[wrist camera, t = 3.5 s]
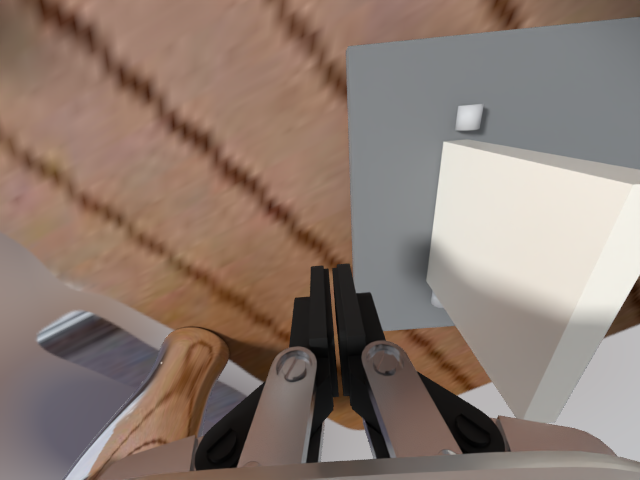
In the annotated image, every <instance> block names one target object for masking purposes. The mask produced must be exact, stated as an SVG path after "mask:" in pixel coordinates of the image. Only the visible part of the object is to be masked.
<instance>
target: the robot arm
mask: <svg viewBox="0 0 640 480" xmlns="http://www.w3.org/2000/svg"><path fill="white" fill-rule="evenodd" d="M332 271H333V285H334V298H335V312H336V324H337V334H338V344H339V355H340V365H341V375H342V385H343V395H344V396H349V397H350V405H351V406H352V409H353V410H354V411H355V412H356V413H358V414H359V415H360V416H361V417H362V419H363V425H364V428H365V431H366V435H367V438H368V442H369V445H370V448H371V452H372V455H373V459H368V460H352V461H334V462H321V454H322V445H323V435H324V420H325V419H326V418H327V417H328V416H329V414H330V413H331V412H332V411H333V407H334V405H333V397H339V393H338V380H337V368H336V355H335V343H334V331H333V318H332V306H331V294H330V282H329V270H328V269H324V267H323V266H312V267H311V283H310V297H299V298H295V301H294V309H293V318H292V327H291V336H290V344H289V348H287V349H285V350H283V351H282V352H280V353H279V354H278V355H277V356H276V357H275V359H274V361H273V363H272V365H271V368H270V371H269V374H268V377H267V380H266V381H265V382H264V383H263V384H262V385H260V386H259V387H258V388H257V389H256V390H255V391H254V392H252V393H251V394H250V395H249V396H248V397H246V398H245V399H244V400H243V401H242V402H241V403H240V404H238V405H237V406H236V407H235V408H234V409H233V410H231V411H230V412H229V413H228V414H227V415H226V416H224V417H223V418H222V419H221V420H220V421H219V422H218V423H216V424H215V425H214V426H213V427H212V428H211V429H210V430H209V431H208V432H207V433H206V434H205V435H204V436H202V437H198V438H197V437H196V435H193V436H190V437H186V438H183V439H180V440H177V441H174V442H171V443H167V444H164V445H161V446H158V447H155V448H152V449H148V450H145V451H142V452H139V453H136V454H132V455H129V456H127V457H124V458H122V459H120V460H118V461H117V462H115V463H114V464H113V465H112V466H110V467H109V468H108V469H107V470H106V471H105V472H104V473H103V474H102V475H101V477H100V478H99V479H98V480H640V462H637V461H634V460H630V459H626V458H622V457H618V456H617V455H616V454H615V453H614V452H613V451H612V450H611V449H610V448H609V447H608V446H607V445H606V444H604V443H603V442H602V441H601V440H600V439H598V438H596V437H594V436H593V435H591V434H589V433H587V432H585V431H582V430H578V429H575V428H570V427H564V426H558V425H552V424H546V423H540V422H535V421H529V420H523V419H517V418H511V417H505V416H498V418H497V419H495V418H489V417H488V416H487V415H486V414H484V413H483V412H482V411H480V410H479V409H477V408H476V407H474V406H472V405H471V404H469V403H468V402H466V401H464V400H463V399H461V398H459V397H458V396H456V395H455V394H453V393H451V392H450V391H448V390H446V389H445V388H443V387H442V386H440V385H438V384H437V383H435V382H433V381H432V380H430V379H429V378H427V377H425V376H424V375H422V374H420V373H419V372H417V371H416V370H415V368H414V366H413V364H412V363H411V361H410V359H409V357H408V356H407V354H406V353H405V351H404V350H403V349H402V348H401V347H399V346H398V345H397V344H394V343H392V342H389V341H386V340H385V336H384V333H383V330H382V327H381V323H380V320H379V317H378V314H377V310H376V307H375V304H374V301H373V297H372V294H371V293H370V292H365V293H356V291H355V286H354V282H353V278H352V273H351V269H350V264H338V265H337V268H332Z"/></svg>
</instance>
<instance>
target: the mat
mask: <svg viewBox="0 0 640 480" xmlns="http://www.w3.org/2000/svg"><path fill="white" fill-rule="evenodd" d="M346 72H347V103H348V133H349V164H350V195H351V225H352V256H353V282H354V286H355V291H356V293H365V292H370V293H371V294H372V297H373V301H374V304H375V307H376V310H377V314H378V317H379V320H380V323H381V327H382V330H383V331H390V330H403V329H417V328H430V327H444V326H455V324H454V323H453V321H452V319H451V318H450V316H449V315H448V313H447V312H446V310H445V309H444V307H443V306H442V304H441V303H440V301H439V300H438V298H437V297H436V295H435V294H434V292H433V290H432V289H431V287H430V286H429V284H428V283H427V281H426V279H427V271H428V263H429V255H430V247H431V238H432V230H433V222H434V214H435V206H436V198H437V190H438V182H439V174H440V166H441V158H442V149H443V141H454V140H465V139H469V140H475V141H480V142H486V143H492V144H497V145H503V146H509V147H514V148H520V149H525V150H531V151H537V152H542V153H548V154H554V155H559V156H565V157H571V158H576V159H582V160H588V161H593V162H599V163H604V164H610V165H616V166H621V167H627V168H633V169H638V170H640V17H633V18H623V19H613V20H603V21H594V22H584V23H574V24H564V25H554V26H544V27H534V28H525V29H515V30H505V31H495V32H485V33H475V34H465V35H456V36H446V37H436V38H426V39H416V40H406V41H396V42H387V43H377V44H367V45H357V46H348V48H347V50H346Z"/></svg>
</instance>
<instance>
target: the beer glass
mask: <svg viewBox="0 0 640 480" xmlns="http://www.w3.org/2000/svg"><path fill="white" fill-rule="evenodd" d="M228 359H229V349H228V347H227V345H226V343H225V342H224V341H223V340H222V339H221V338H220V337H219V336H218V335H216V334H214V333H212V332H210V331H208V330H205V329H201V328H195V327H187V328H180V329H177V330H175V331H173V332H171V333H170V334H169V335H168V336H167V337H166V338H165V340H164V341H163V343H162V345H161V348H160V350H159V353H158V355H157V358H156V360H155V362H154V364H153V367H152V368H151V370H150V372H149V373H148V375H147V376H146V378H145V379H144V380H143V382H142V383H141V385H140V386H139V387H138V388H137V389H136V391H135V392H134V393H133V394H132V395H131V396H130V398H129V399H128V400H127V401H126V402H125V403H124V404H123V406H122V407H121V408H120V409H119V410H118V411H117V412H116V413H115V415H114V416H113V417H112V418H111V419H110V420H109V422H108V423H107V424H106V425H105V426H104V427H103V428H102V430H101V431H100V432H99V433H98V434H97V435H96V436H95V438H94V439H93V440H92V441H91V443H90V444H89V445H88V446H87V448H86V449H85V450H84V451H83V453H82V454H81V455H80V456H79V457H78V459H77V460H76V461H75V462H74V464H73V465H72V467H71V468H70V469H69V471H68V472H67V473H66V475H65V476H64V478H63V479H62V480H98V479H99V478H100V477H101V475H102V474H103V473H104V472H105V471H106V470H107V469H108V468H109V467H110V466H112V465H113V464H114V463H115V462H117V461H118V460H120V459H122V458H124V457H127V456H129V455H132V454H136V453H139V452H142V451H145V450H148V449H152V448H155V447H158V446H161V445H164V444H167V443H171V442H174V441H177V440H180V439H183V438H186V437H190V436H193V435H196V437H197V438H198V437H202V432H203V426H204V421H205V416H206V412H207V407H208V403H209V400H210V396H211V393H212V391H213V388H214V386H215V384H216V382H217V380H218V378H219V376H220V374H221V373H222V371H223V369H224V368H225V366H226V364H227V362H228Z"/></svg>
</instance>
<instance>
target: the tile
mask: <svg viewBox="0 0 640 480" xmlns="http://www.w3.org/2000/svg"><path fill="white" fill-rule="evenodd" d="M639 275H640V170H638V169H633V168H627V167H621V166H616V165H610V164H604V163H599V162H593V161H588V160H582V159H576V158H571V157H565V156H559V155H554V154H548V153H542V152H537V151H531V150H525V149H520V148H514V147H509V146H503V145H497V144H492V143H486V142H480V141H475V140H469V139H465V140H454V141H443V149H442V158H441V166H440V174H439V182H438V190H437V198H436V206H435V214H434V222H433V230H432V238H431V247H430V255H429V263H428V271H427V279H426V281H427V283H428V284H429V286H430V287H431V289H432V290H433V292H434V294H435V295H436V297H437V298H438V300H439V301H440V303H441V304H442V306H443V307H444V309H445V310H446V312H447V313H448V315H449V316H450V318H451V319H452V321H453V323H454V324H455V326H456V327H457V329H458V330H459V332H460V333H461V335H462V336H463V338H464V339H465V341H466V342H467V344H468V345H469V347H470V348H471V350H472V351H473V353H474V355H475V356H476V358H477V359H478V361H479V362H480V364H481V365H482V367H483V368H484V370H485V371H486V373H487V374H488V376H489V377H490V379H491V380H492V382H493V383H494V385H495V386H496V388H497V389H498V391H499V393H500V394H501V396H502V397H503V398H504V400H505V402H506V403H507V405H508V406H509V408H510V409H511V411H512V412H513V414H514V415H515V417H516V418H517V419H523V420H529V421H535V422H540V423H553V422H556V420H557V418H558V416H559V415H560V413H561V411H562V409H563V408H564V406H565V404H566V403H567V401H568V399H569V397H570V395H571V394H572V392H573V390H574V388H575V387H576V385H577V383H578V382H579V380H580V378H581V376H582V375H583V373H584V371H585V369H586V368H587V366H588V364H589V362H590V361H591V359H592V357H593V355H594V354H595V352H596V350H597V348H598V347H599V345H600V343H601V341H602V340H603V338H604V336H605V334H606V333H607V331H608V329H609V327H610V326H611V324H612V322H613V320H614V319H615V317H616V315H617V313H618V312H619V310H620V308H621V306H622V305H623V303H624V301H625V300H626V298H627V296H628V294H629V293H630V291H631V289H632V287H633V286H634V284H635V282H636V280H637V279H638V277H639Z"/></svg>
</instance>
